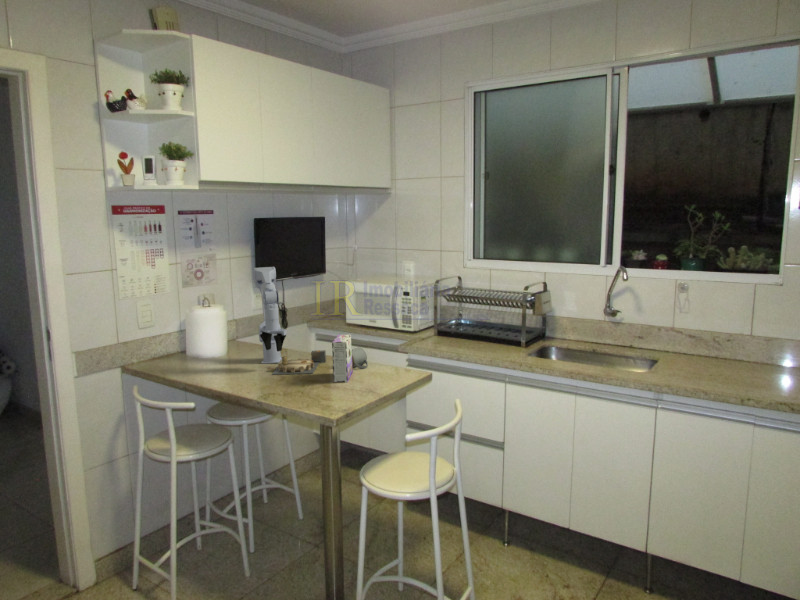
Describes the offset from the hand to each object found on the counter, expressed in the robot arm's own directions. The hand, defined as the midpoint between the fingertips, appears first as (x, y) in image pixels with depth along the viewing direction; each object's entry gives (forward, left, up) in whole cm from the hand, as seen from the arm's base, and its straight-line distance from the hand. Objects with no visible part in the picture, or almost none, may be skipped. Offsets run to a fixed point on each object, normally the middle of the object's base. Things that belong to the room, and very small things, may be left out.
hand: (273, 350), depth 236 cm
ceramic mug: (-1, +36, -9) cm, 37 cm away
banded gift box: (-11, +17, -8) cm, 22 cm away
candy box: (+15, +31, -9) cm, 36 cm away
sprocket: (0, +9, -8) cm, 13 cm away
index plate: (0, +9, -8) cm, 13 cm away
